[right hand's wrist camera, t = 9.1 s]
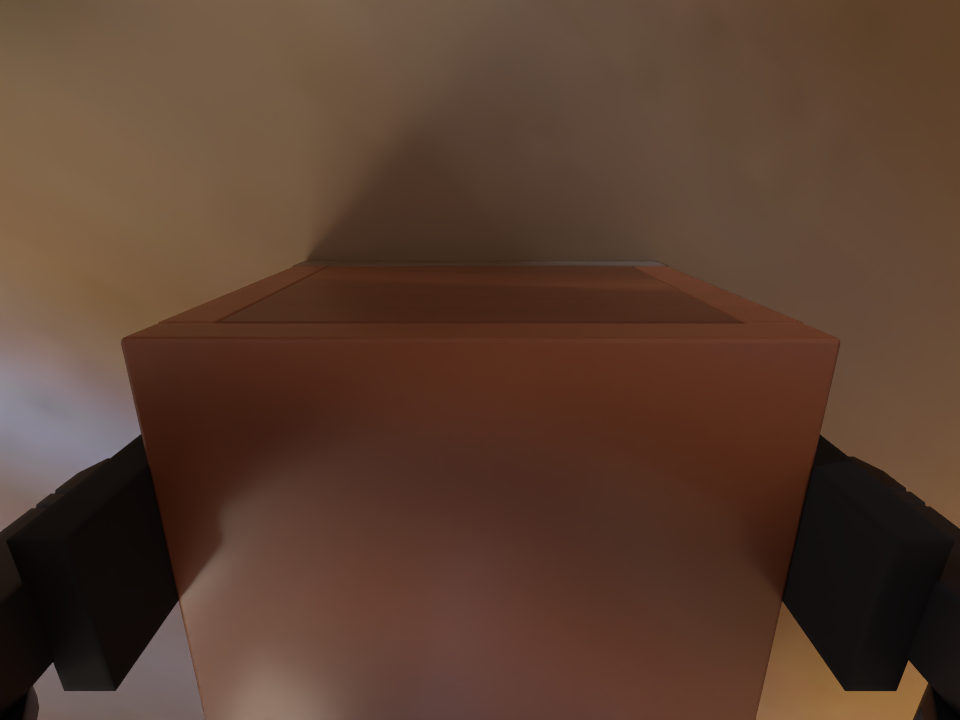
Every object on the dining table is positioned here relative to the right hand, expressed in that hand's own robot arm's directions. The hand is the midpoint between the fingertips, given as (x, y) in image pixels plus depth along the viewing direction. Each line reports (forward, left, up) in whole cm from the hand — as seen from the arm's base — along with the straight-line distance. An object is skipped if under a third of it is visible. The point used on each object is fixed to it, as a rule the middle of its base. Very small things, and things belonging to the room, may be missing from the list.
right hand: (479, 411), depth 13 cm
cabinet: (+6, +3, -4) cm, 8 cm away
